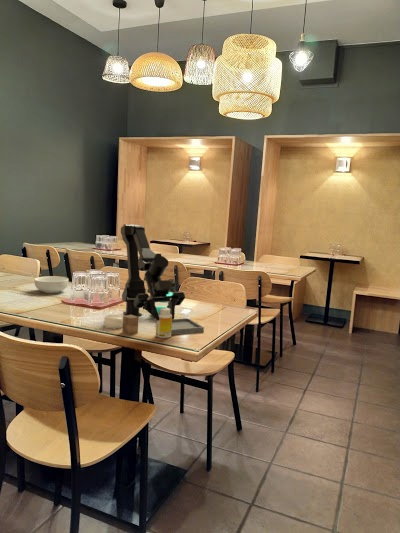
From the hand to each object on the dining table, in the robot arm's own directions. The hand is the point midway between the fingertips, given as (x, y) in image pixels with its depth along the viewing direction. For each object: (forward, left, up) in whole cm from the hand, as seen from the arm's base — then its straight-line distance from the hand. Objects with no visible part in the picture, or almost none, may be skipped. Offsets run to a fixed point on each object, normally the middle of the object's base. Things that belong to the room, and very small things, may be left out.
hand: (165, 319), depth 148 cm
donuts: (-29, +11, -7) cm, 32 cm away
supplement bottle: (-1, 0, -7) cm, 7 cm away
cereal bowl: (-89, -27, -7) cm, 94 cm away
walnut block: (-9, -10, -7) cm, 15 cm away
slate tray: (-9, +10, -7) cm, 15 cm away
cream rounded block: (-19, -13, -7) cm, 24 cm away
